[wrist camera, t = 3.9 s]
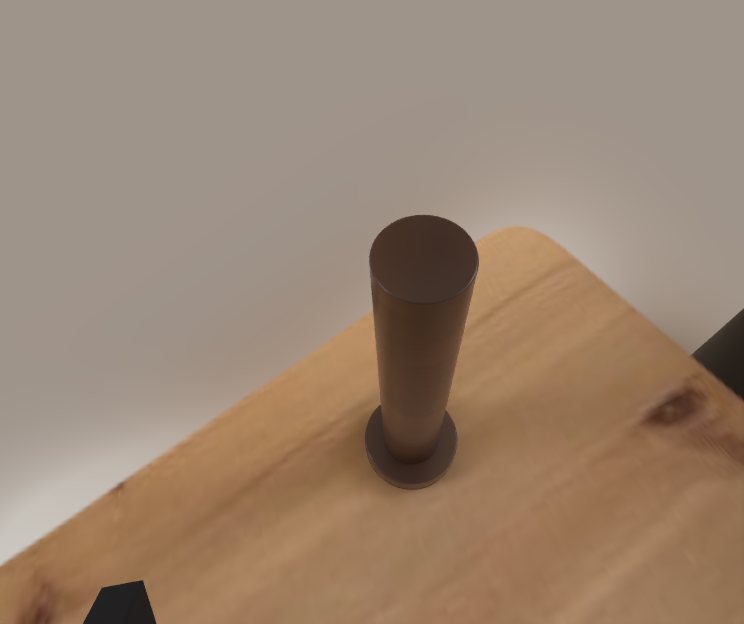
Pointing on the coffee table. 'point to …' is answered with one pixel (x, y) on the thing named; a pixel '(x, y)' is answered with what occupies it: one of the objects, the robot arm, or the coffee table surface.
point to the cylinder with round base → (417, 344)
